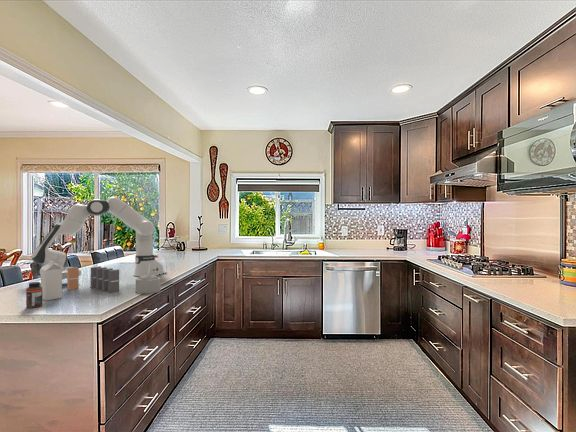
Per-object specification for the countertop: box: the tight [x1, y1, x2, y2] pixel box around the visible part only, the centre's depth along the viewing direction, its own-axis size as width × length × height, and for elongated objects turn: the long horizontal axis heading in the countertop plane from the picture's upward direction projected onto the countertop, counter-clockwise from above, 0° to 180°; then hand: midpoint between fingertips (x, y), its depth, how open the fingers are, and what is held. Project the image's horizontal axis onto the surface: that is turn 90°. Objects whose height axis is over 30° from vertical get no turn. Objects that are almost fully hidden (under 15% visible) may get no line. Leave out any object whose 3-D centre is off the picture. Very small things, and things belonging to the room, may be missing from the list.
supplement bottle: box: [25, 281, 43, 309], centre depth 153 cm, size 6×6×11 cm
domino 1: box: [90, 265, 102, 289], centre depth 195 cm, size 2×5×12 cm, turn 146°
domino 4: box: [107, 269, 120, 294], centre depth 184 cm, size 2×5×12 cm, turn 146°
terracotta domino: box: [66, 266, 80, 291], centre depth 190 cm, size 2×5×12 cm, turn 146°
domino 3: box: [101, 267, 114, 292], centre depth 187 cm, size 2×5×12 cm, turn 146°
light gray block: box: [135, 275, 162, 294], centre depth 186 cm, size 10×13×9 cm
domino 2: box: [95, 267, 108, 291], centre depth 191 cm, size 2×5×12 cm, turn 146°
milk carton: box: [40, 261, 63, 302], centre depth 168 cm, size 7×7×19 cm
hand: (67, 276), depth 194 cm, fingers open, 8 cm apart
